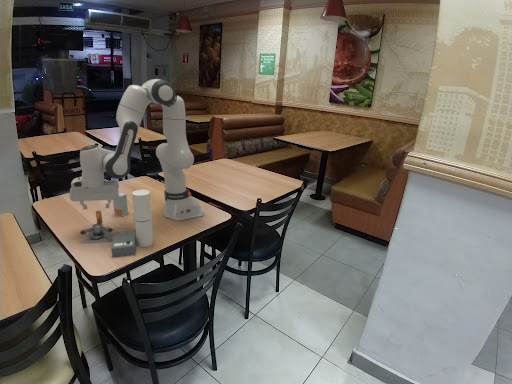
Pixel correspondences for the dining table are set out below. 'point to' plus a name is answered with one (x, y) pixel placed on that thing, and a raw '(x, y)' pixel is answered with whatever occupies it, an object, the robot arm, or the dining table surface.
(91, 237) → the capstan
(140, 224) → the cylindrical container
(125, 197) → the skincare box
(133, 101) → the robot arm
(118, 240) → the stand
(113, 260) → the dining table surface
